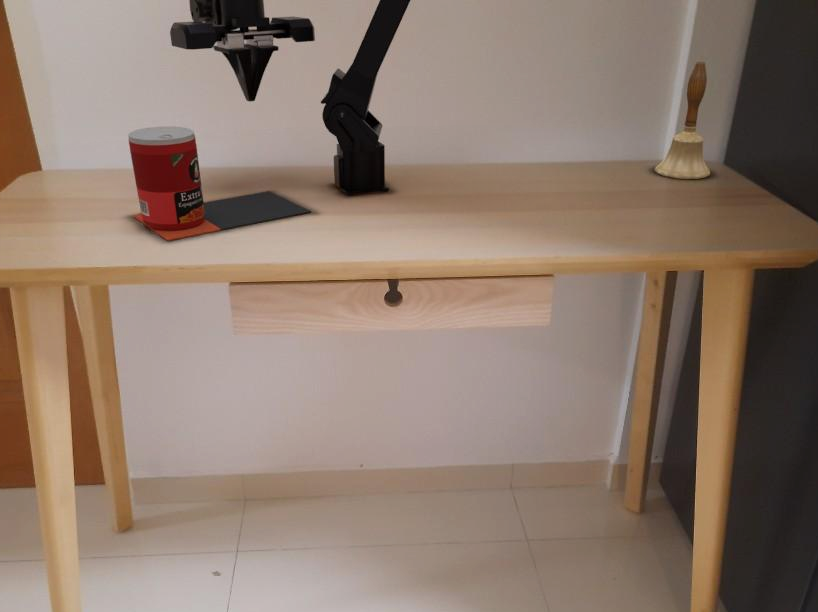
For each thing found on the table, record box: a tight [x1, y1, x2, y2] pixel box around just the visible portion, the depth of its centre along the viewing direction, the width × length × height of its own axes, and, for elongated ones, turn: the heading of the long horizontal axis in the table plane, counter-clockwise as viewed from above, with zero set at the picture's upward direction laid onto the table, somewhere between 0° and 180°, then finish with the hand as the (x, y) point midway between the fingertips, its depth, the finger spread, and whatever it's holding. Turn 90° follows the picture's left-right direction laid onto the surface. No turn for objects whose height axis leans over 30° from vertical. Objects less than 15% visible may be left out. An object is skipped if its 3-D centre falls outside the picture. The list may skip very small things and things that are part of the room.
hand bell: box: [654, 61, 711, 180], centre depth 117 cm, size 8×8×16 cm
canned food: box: [127, 126, 205, 230], centre depth 96 cm, size 8×8×11 cm
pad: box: [132, 213, 222, 242], centre depth 99 cm, size 7×12×1 cm, turn 36°
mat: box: [204, 190, 312, 231], centre depth 104 cm, size 13×12×1 cm
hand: (250, 100), depth 108 cm, fingers closed
